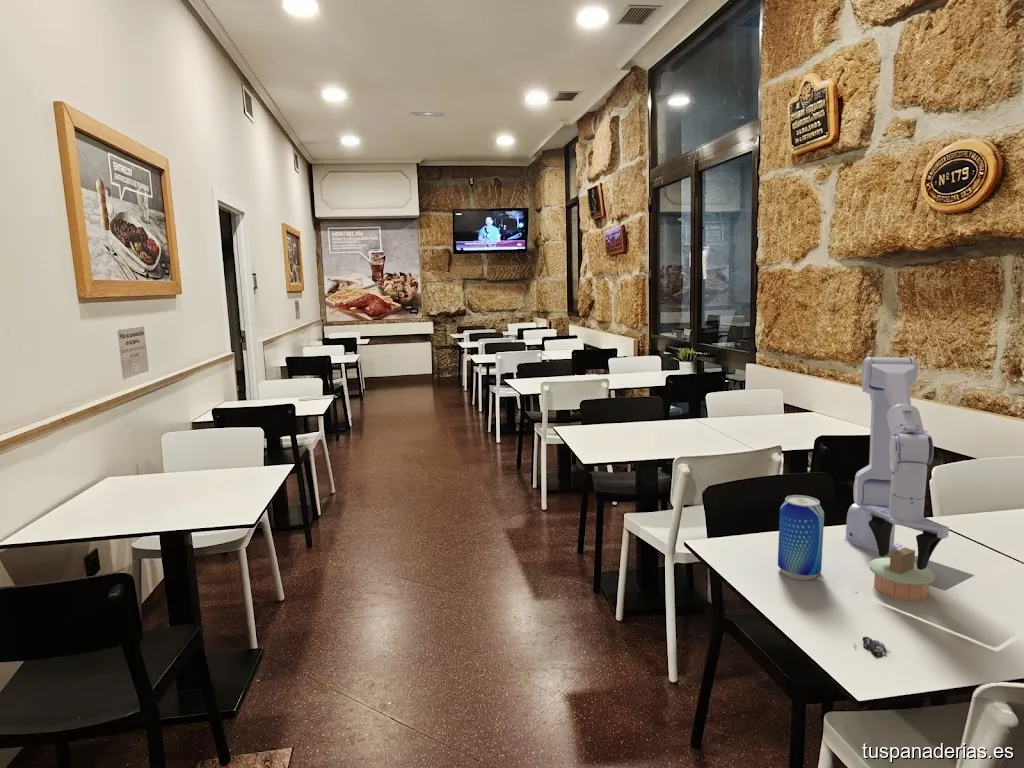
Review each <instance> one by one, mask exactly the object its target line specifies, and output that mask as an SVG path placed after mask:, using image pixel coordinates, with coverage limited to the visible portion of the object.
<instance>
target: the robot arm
mask: <svg viewBox="0 0 1024 768" xmlns="http://www.w3.org/2000/svg"><path fill="white" fill-rule="evenodd" d="M917 377H918V363H917V360H916V359H915V358H914V357H913V356H909V357H886V356H885V357H882V356H881V357H877V356H876V357H875V356H866V357H865V358H864V359H863V361H862V367H861V388H862V389H861V390H862V392H864V393H866V394H868V395H869V397H870V401H871V402H870V403H871V407H870V408H871V411H870V436H869V439H870V440H869V463H868V465H866V466H865V467H862V468H861V469H859V470H858V471H857V472H856V474H855V476H854V483H853V488H852V489H853V501H854V503H853V504H851V505H850V507H849V508H848V511H847V515H846V527H845V538H843V541H845V542H847V543H851V544H853V545H857V546H859V547H861V548H862V547H863V548H866V549H868V550H872V551H873V552H877V553H878V555H879V557H881V558H884V557H885V556H888V555H889V552H891V551H894V550H896V549H900V548H901V547H902V546H903V544H901V543H897V542H895V535H896V534H895V533H896V526H902V527H906V528H909V529H912V530H914V531H915V530H916V531H919V532H922V533H919V534H917V535H916V536H915V539H916V543H917V544H916V545H917V556H918V558H917V569H920V570H922V569H925V568H926V567H927V564H928V561H929V560H930V558H931V556H932V554H933V552H934V551H935V549H936V548H937V546H938V544H939V543H940V542H941V541H942V540H943V539H947V538H948V537H949V530H950V527H949V526H947V525H943V524H941V523H938V522H935V521H933V520H931V519H930V518H927V517H924V510H925V498H926V487H927V478H928V477H927V475H928V465H931V464H932V462H933V457H934V441H933V437H932V435H931V434H930V433H929V432H928V430H925V429H924V426H923V421H922V417H921V413H920V410H919V409H918V408H917V407H916V406H915V405H912V400H911V394H910V393H911V392H910V389H911V388H912V387H914V384H915V383H916V381H917V379H918V378H917Z"/></svg>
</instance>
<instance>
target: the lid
mask: <svg viewBox="0 0 1024 768" xmlns="http://www.w3.org/2000/svg"><path fill="white" fill-rule="evenodd" d="M915 556H916V550H915V549H911V548H908V547H905V546H904V547H902V548H898V549H897V550H895V551H893V552H890V556H889V557H879V558H878V557H877V558H874V559H872V560H870V562H869V570H870V571H871V572H872V573H873V574H874V575H875V574H876V575H878V576H880V577H882V578H884V579H887V580H890V581H893V582H897V583H902V584H908V585H926V584H930V583H932V582H933V581H934V580H935V574H934V572H933V571H932V570H931V569H929V568H928V567H926V568H925V569H922V570H920V569H917V563H916V562H914V559H915Z"/></svg>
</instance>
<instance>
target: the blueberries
mask: <svg viewBox="0 0 1024 768" xmlns="http://www.w3.org/2000/svg"><path fill="white" fill-rule="evenodd" d="M862 642H863V644H862V645H863V646H862V648H863V649H865V650H867V651H868V652H870V653H871V655H872V656H873V657H874V658H875V659H877V660H878V659H880V658H883V657H885V658H888V655H889V654H891V653H892V652H891V651H890V650H888V649H887V648H886V647H885V644H884V643H883V642H881V641H879V640H877V639H872V638H871V637H869V636H863V637H862ZM852 647H853V648H854V650H855V651H856V650H857V646H856V645H855V644H854V645H852ZM887 654H888V655H887Z"/></svg>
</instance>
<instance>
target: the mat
mask: <svg viewBox="0 0 1024 768" xmlns="http://www.w3.org/2000/svg"><path fill="white" fill-rule="evenodd" d="M917 558H918V555H915V559H914V562H916V563H917ZM927 567H928V568H929V569H931V570H932V571H933V572H934V574H935V580H934V581H933V582H932V583H930V584H929V586H931V587H934V588H936V589H939V590H942V591H947V590H948V589H951V588H952V587H954V586H956V585H958V584H960V583H962V582H964V581H966V580H967V579H970V578H972V577H974V576H975V574H972V573H968V572H967V571H964V570H960V569H957V568H954V567H950V566H948V565H945V564H942V563H939V562H935V561H933V560H930V559H929V561H928V564H927Z"/></svg>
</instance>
